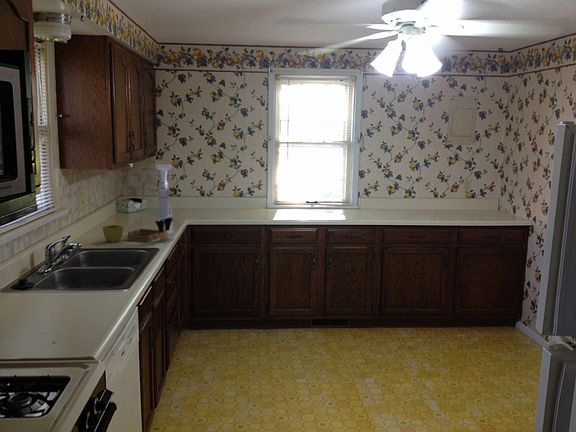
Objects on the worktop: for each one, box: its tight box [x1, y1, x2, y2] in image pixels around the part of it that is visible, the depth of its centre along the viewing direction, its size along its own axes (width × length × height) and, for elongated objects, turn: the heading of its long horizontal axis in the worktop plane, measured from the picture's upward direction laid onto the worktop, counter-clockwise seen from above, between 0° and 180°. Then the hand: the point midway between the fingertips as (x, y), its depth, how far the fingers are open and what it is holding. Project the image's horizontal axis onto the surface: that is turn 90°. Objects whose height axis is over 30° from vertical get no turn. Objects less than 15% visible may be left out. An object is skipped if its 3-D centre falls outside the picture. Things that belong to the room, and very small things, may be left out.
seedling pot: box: [159, 230, 170, 242], centre depth 341 cm, size 5×5×6 cm
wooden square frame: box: [126, 228, 160, 243], centre depth 346 cm, size 14×14×4 cm
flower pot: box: [102, 224, 124, 243], centre depth 337 cm, size 9×9×9 cm
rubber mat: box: [153, 238, 176, 244], centre depth 342 cm, size 12×8×1 cm, turn 162°
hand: (164, 231), depth 341 cm, fingers open, 7 cm apart
